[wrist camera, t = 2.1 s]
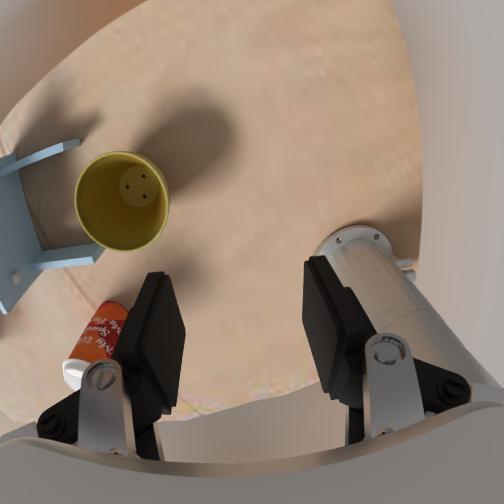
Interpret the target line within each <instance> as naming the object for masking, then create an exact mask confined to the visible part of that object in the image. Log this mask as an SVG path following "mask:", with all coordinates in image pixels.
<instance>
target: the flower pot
mask: <svg viewBox="0 0 504 504" xmlns="http://www.w3.org/2000/svg"><path fill="white" fill-rule="evenodd" d="M143 175H145V178H143V177H142V176H143ZM127 185H128V186H129V188H128V189H127V188H126V186H127ZM143 195H146V198H144V197H143ZM74 201H75V209H76V213H77V216H78V219H79V221H80V223H81V225H82V227H83V229H84V230H85V231H86V233H87V234H88V235H89V236H90V237H91V238H92V239H93V240H94V241H95V242H97V243H98V244H100V245H101V246H103V247H105V248H107V249H110V250H112V251H117V252H126V253H127V252H135V251H138V250H141V249H143V248H146V247H147V246H149V245H150V244H152V243H153V242H154V241H155V240H156V239H157V238H158V237H159V236H160V234H161V232H162V231H163V229H164V227H165V225H166V222H167V218H168V213H169V205H170V197H169V190H168V185H167V182H166V179H165V177H164V175H163V173H162V172H161V170H160V169H159V168H158V167H157V166H156V165H155V164H154V163H153V162H152V161H151V160H149V159H148V158H146V157H144V156H142V155H139V154H136V153H132V152H126V151H116V152H109V153H105V154H103V155H100V156H98V157H97V158H95V159H94V160H92V161H91V162H90V163H89V164H88V165H87V166H86V167H85V168H84V170H83V171H82V173H81V175H80V176H79V179H78V181H77V184H76V188H75V198H74Z"/></svg>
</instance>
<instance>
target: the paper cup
mask: <svg viewBox="0 0 504 504" xmlns="http://www.w3.org/2000/svg"><path fill="white" fill-rule="evenodd" d="M127 315H128V311H127V310H126V309H125V308H124V307H123V306H121V305H119V304H117V303H115V302H105V303H103V304H102V305H101V306H100V307H99V308H98V310H97V311H96V313H95V314H94V316H93V317H92V319H91V321H90V322H89V324H88V325H87V327H86V329H85V330H84V332H83V334H82V335H81V337H80V339H79V341H78V342H77V344H76V346H75V348H74V349H73V351H72V353H71V355H70V356H69V358H68V359H67V360H65V361H64V362H63V376H64V379H65V381H66V382H67V384H68V385H69V386H70V387H71V388H72V389H74V390H75V391H77V390H79V389H80V388H81V378H82V375H83V372H84V371H85V369H86V368H87V367H88V366H89V365H90V364H91V363H93V362H94V361H96V360H99V359H105V358H109V359H111V356H112V354H113V351H114V348H115V345H116V343H117V340H118V337H119V335H120V332H121V330H122V327H123V325H124V322H125V320H126V317H127Z"/></svg>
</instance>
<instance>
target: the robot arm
mask: <svg viewBox="0 0 504 504" xmlns="http://www.w3.org/2000/svg"><path fill="white" fill-rule="evenodd" d="M337 238H338V239H337ZM411 265H412V259H411V257H405V258H401V259H398V258H397V257H396V256H395V255H394V254H393V250H392V246H391V244H390V242H389V240H388V239H387V237H386V236H385V235H384V234H383V233H382V232H380V231H379V230H377V229H376V228H373V227H371V226H367V225H353V226H349V227H345V228H343V229H341V230H339V231H337V232H335V233H334V234H332V235H331V236H329V237H328V238H327V239H326V240H325V241H324V242H323V243H322V244H321V245H320V247H319V248H318V249H317V251H316V253H315V255H314V256H311V257H309V261H305V262H304V283H303V308H302V321H303V326H304V329H305V332H306V335H307V338H308V342H309V345H310V348H311V352H312V355H313V358H314V361H315V365H316V368H317V372H318V375H319V378H320V382H321V385H322V389H323V391H324V393H329V394H330V398H331V400H335V399H339V402H341V403H343V404H345V405H346V421H345V422H346V423H345V424H346V425H345V446H344V447H340V448H336V449H332V450H327V451H322V452H317V453H312V454H307V455H301V456H295V457H288V458H281V459H273V460H264V461H253V462H237V463H181V462H167V461H165V458H164V453H163V449H162V444H161V439H160V433H159V428H158V422H157V420H159V419H160V418H161V414H165V415H171V409H172V407H175V406H176V403H177V395H178V387H179V379H180V371H181V364H182V356H183V349H184V343H185V335H186V334H185V327H184V323H183V320H182V317H181V314H180V310H179V307H178V304H177V300H176V297H175V293H174V290H173V286H172V283H171V279H170V276H169V275H165V274H164V272H163V271H162V272H151V273H148V274H147V276H146V279H145V281H144V283H143V286H142V288H141V290H140V293H139V295H138V297H137V300H136V302H135V305H134V307H133V308H131V309H130V310H129V312H128V315H127V317H126V320H125V322H124V325H123V327H122V330H121V332H120V335H119V337H118V340H117V343H116V345H115V348H114V351H113V354H112V356H111V359H109V358H105V359H99V360H96V361H94V362H93V363H91V364H90V365H89V366H88V367H87V368H86V369H85V371H84V372H83V375H82V378H81V388H80V389H79V390H77V391H76V392H74V393H72V394H71V395H69V396H68V397H66V398H64V399H63V400H61V401H60V402H58V403H56V404H55V405H53V406H52V407H50V408H48V409H47V410H46V411H44V412H43V413H42V414H41V416H40V417H39V419H38V422H37V423H36V422H35V421H34V422H32V423H29V424H27V425H25V426H23V427H20V428H18V429H16V430H14V431H11V432H9V433H6V434H4V435H2V436H1V437H0V504H504V388H502V386H501V385H500V384H499V383H498V382H497V381H496V380H495V379H494V378H493V377H492V376H491V375H490V374H489V373H488V372H487V371H486V369H484V367H483V366H482V365H481V364H480V363H479V362H478V361H477V360H476V359H475V358H474V357H473V356H472V354H471V353H470V352H469V351H468V350H467V349H466V348H465V347H464V345H463V344H462V343H461V341H460V340H459V339H458V338H457V336H456V335H455V334H454V333H453V331H452V330H451V329H450V328H449V327H448V325H447V324H446V323H445V321H444V320H443V319H442V318H441V316H440V315H439V314H438V313H437V311H436V310H435V309H434V308H433V307H432V305H431V304H430V303H429V302H428V300H427V299H426V298H425V297H424V296H423V294H422V293H421V292H420V291H419V290H418V288H417V287H416V286H415V285H414V284H413V283H412V282H414V281H415V279H416V274H415V271H414V270H413V269H409V270H403V271H402V270H401V269H400V268H401V267H403V268H404V267H410V266H411Z"/></svg>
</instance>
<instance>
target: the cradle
mask: <svg viewBox="0 0 504 504" xmlns="http://www.w3.org/2000/svg"><path fill="white" fill-rule="evenodd" d="M80 145H81V144H80V138H76V139H72V140H69V141H65V142H62V143H59V144H56V145H54V146H51V147H49V148H46V149H44V150H41V151H39V152H36V153H34V154H32V155H29V156H27V157H25V158H23V159H21V160H18V161H17V158H16V153H12V154H10V155H7V156H4V157H2V158H0V310H1V311H2V313H3V314H8V313H9V312H10V311H11V309H12V308H13V307H14V305H15V304H16V303H17V301H18V300H19V299H20V298H21V296H22V295H23V294H24V293H25V291H26V290H27V289H28V288H29V287H30V285H31V284H32V283H33V282H34V281H35V280H36V278H37V277H38V276H39V275H40V274H41V273H42V272H43V270H44V269H51V268H60V267H69V266H78V265H87V264H94V263H95V262H96V261H97V259H98V258H99V257H100V255H101V254H102V253H103V252H104V250H105V249H106V248H105V247H103V246H101V245H100V244H98V243H91V244H85V245H78V246H71V247H65V248H58V249H52V250H46V251H42V249H41V246H40V243H39V241H38V238H37V235H36V232H35V229H34V226H33V223H32V220H31V216H30V213H29V210H28V206H27V202H26V199H25V195H24V191H23V187H22V183H21V178H20V174H19V169H20V168H22V167H24V166H26V165H29V164H31V163H34V162H36V161H39V160H41V159H44V158H46V157H49V156H51V155H54V154H57V153H60V152H63V151H65V150H68V149H71V148H74V147H77V146H80Z"/></svg>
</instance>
